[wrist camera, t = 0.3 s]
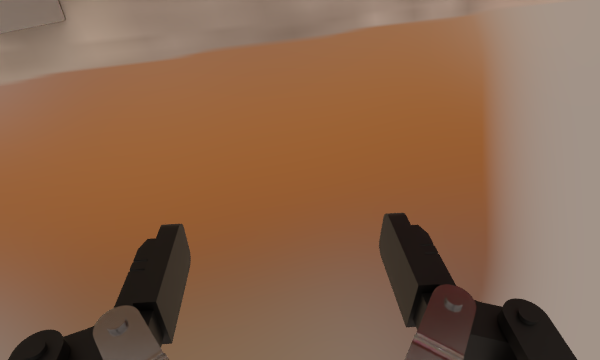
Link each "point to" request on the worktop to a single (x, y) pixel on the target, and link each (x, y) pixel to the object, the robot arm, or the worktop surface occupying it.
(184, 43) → the worktop surface
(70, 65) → the worktop surface
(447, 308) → the robot arm
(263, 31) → the worktop surface
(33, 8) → the milk carton
